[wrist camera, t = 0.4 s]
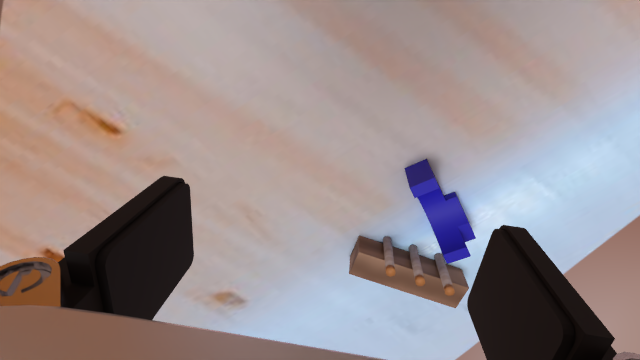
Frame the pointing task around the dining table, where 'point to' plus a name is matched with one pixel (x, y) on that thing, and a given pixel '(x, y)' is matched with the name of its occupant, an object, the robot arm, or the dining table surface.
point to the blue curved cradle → (441, 212)
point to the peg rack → (408, 271)
